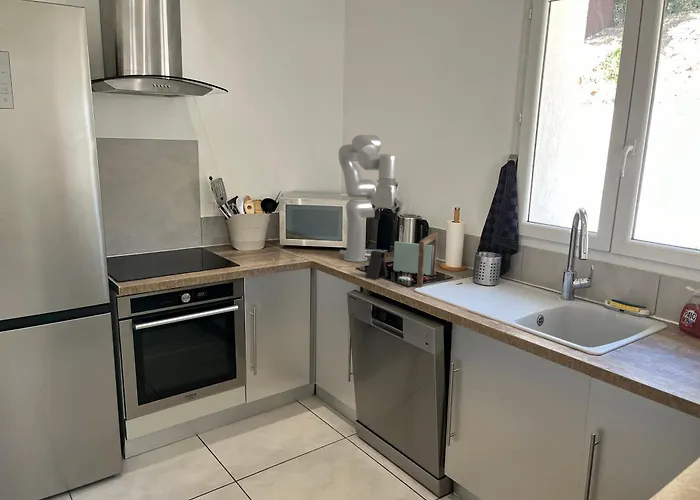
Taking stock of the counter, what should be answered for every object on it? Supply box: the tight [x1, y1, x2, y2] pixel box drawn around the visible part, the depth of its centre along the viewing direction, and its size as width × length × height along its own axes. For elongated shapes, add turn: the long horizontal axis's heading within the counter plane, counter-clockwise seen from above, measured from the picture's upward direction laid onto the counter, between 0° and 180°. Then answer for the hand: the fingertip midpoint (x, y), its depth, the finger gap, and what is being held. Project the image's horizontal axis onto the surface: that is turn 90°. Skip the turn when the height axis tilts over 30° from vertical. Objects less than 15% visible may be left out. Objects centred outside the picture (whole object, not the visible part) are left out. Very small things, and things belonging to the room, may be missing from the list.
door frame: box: [416, 231, 439, 288], centre depth 239 cm, size 2×26×20 cm, turn 157°
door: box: [392, 241, 434, 276], centre depth 251 cm, size 19×2×14 cm, turn 67°
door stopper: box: [365, 250, 389, 280], centre depth 243 cm, size 9×6×12 cm, turn 136°
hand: (385, 220), depth 241 cm, fingers open, 9 cm apart
